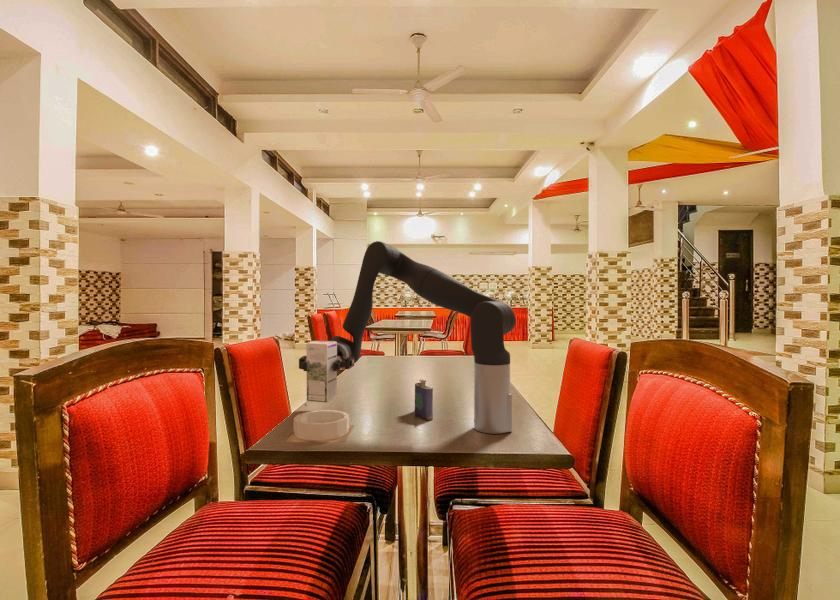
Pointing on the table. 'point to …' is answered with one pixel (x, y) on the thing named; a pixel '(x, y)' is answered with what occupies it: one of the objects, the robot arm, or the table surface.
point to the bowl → (321, 425)
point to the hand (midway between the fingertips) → (319, 366)
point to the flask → (423, 400)
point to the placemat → (342, 439)
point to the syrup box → (321, 371)
